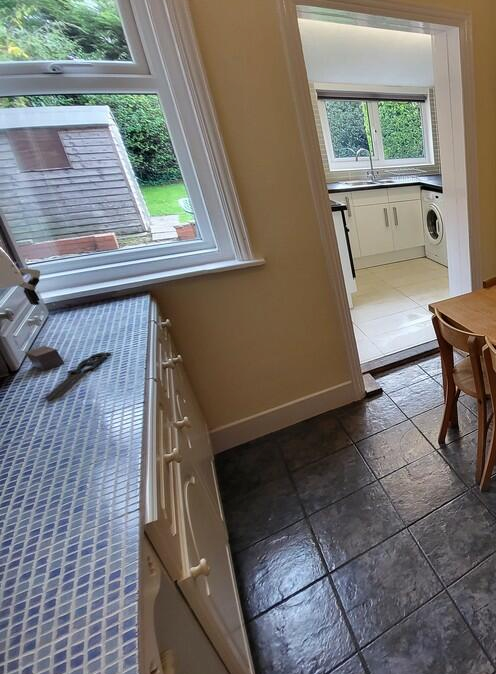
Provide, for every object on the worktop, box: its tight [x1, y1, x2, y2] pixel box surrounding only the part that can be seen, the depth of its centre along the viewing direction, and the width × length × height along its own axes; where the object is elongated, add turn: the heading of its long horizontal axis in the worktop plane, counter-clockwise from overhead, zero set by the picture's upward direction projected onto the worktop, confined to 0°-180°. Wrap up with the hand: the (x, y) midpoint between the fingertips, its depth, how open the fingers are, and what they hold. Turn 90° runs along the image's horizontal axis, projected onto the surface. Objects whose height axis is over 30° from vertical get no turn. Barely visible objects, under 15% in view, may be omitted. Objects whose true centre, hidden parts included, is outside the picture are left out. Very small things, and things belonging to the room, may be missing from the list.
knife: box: [45, 351, 112, 405], centre depth 105 cm, size 25×6×1 cm, turn 16°
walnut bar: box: [24, 345, 65, 372], centre depth 112 cm, size 7×4×4 cm, turn 66°
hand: (9, 311), depth 105 cm, fingers open, 9 cm apart
